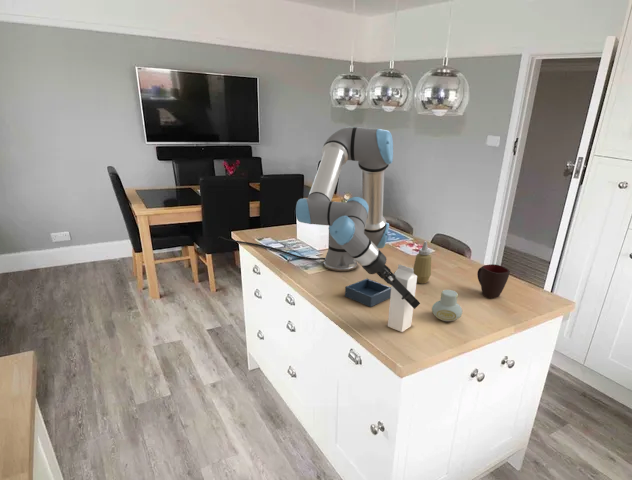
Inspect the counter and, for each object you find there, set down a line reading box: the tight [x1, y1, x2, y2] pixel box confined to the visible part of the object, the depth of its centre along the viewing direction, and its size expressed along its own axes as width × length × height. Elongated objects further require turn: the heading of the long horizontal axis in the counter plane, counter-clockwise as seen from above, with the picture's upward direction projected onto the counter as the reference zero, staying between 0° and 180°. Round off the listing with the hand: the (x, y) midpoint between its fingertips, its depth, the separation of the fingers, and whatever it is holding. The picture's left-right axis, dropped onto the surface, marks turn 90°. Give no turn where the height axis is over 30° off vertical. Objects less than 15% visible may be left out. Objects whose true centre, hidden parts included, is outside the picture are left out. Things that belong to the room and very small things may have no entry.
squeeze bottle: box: [412, 241, 432, 284], centre depth 179 cm, size 8×8×18 cm
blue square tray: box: [344, 278, 391, 308], centre depth 163 cm, size 13×13×4 cm
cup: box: [476, 264, 511, 299], centre depth 173 cm, size 10×14×12 cm
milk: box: [387, 264, 417, 333], centre depth 139 cm, size 6×6×22 cm
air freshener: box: [431, 289, 463, 322], centre depth 150 cm, size 11×8×10 cm
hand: (411, 300), depth 141 cm, fingers closed on milk, 8 cm apart
